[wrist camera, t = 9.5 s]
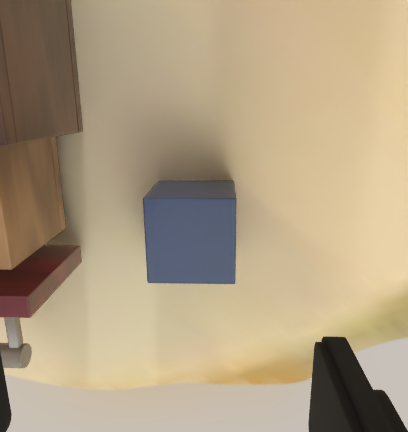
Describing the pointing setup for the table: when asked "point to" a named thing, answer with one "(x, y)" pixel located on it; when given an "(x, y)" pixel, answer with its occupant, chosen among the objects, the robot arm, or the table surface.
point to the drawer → (30, 238)
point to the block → (190, 232)
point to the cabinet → (37, 71)
